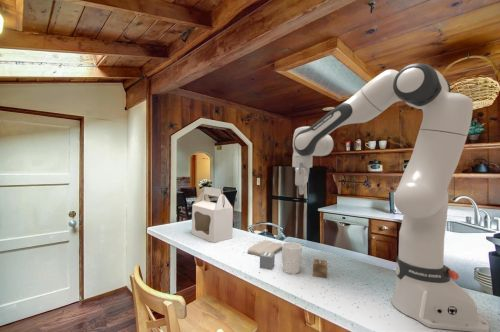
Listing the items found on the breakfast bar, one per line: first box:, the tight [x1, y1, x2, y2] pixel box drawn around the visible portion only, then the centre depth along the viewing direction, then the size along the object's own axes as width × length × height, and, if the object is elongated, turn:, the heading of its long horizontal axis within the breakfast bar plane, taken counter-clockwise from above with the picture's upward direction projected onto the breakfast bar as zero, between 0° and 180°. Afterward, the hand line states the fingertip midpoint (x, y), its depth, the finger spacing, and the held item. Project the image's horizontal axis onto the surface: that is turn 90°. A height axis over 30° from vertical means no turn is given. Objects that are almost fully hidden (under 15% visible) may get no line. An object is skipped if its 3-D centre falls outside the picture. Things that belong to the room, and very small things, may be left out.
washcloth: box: [247, 239, 283, 257], centre depth 120 cm, size 12×18×3 cm, turn 149°
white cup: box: [281, 241, 303, 275], centre depth 98 cm, size 8×8×10 cm
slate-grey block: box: [259, 252, 276, 271], centre depth 101 cm, size 5×5×5 cm
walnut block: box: [312, 258, 328, 279], centre depth 95 cm, size 5×5×5 cm
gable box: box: [191, 186, 234, 244], centre depth 141 cm, size 22×13×28 cm, turn 44°
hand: (301, 194), depth 110 cm, fingers closed
